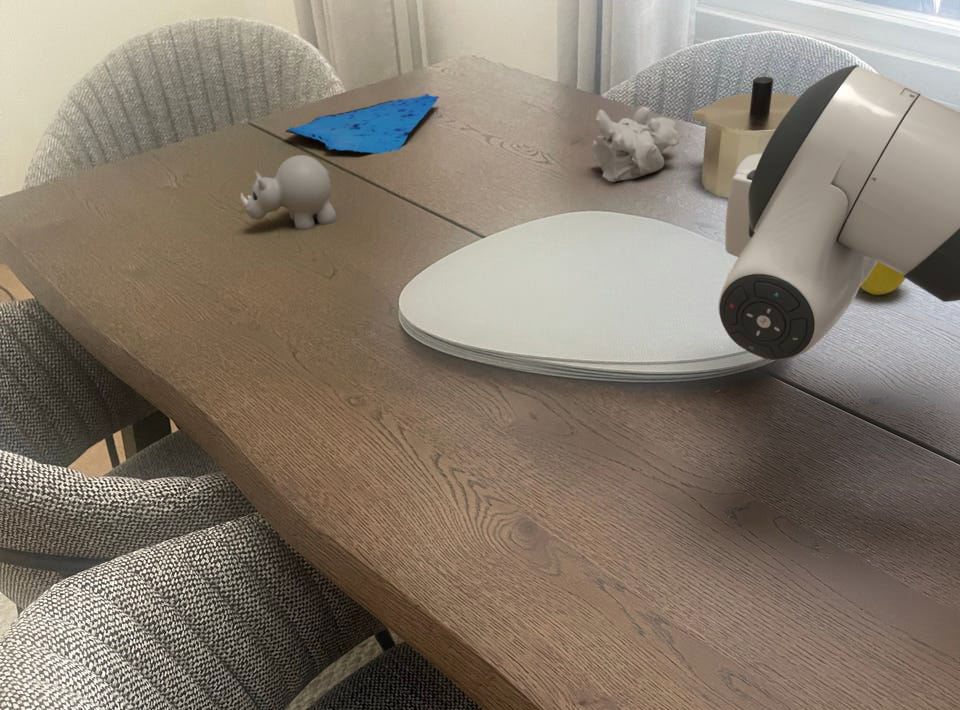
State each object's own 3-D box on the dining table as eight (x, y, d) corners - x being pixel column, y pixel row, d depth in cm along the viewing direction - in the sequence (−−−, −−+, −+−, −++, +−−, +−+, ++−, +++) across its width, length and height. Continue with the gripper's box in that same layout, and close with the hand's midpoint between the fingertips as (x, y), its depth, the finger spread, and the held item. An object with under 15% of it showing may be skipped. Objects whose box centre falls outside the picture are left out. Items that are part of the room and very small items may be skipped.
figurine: (589, 107, 124) (676, 72, 124) (584, 150, 134) (664, 117, 134) (614, 166, 124) (701, 130, 124) (606, 205, 134) (687, 172, 134)
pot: (720, 156, 135) (726, 89, 128) (838, 183, 125) (851, 111, 119) (666, 187, 129) (669, 118, 123) (785, 218, 119) (796, 145, 113)
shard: (302, 111, 163) (299, 98, 161) (442, 100, 161) (440, 87, 159) (275, 167, 146) (272, 153, 144) (431, 155, 144) (429, 141, 142)
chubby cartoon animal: (246, 226, 131) (229, 160, 125) (331, 208, 133) (319, 142, 127) (254, 247, 126) (236, 179, 120) (343, 227, 128) (330, 160, 122)
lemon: (880, 314, 101) (897, 239, 96) (837, 297, 105) (851, 223, 99) (913, 296, 103) (932, 222, 98) (871, 280, 107) (886, 206, 101)
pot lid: (742, 95, 128) (746, 56, 125) (836, 112, 121) (843, 72, 118) (681, 127, 122) (684, 87, 118) (776, 148, 115) (782, 106, 111)
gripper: (983, 208, 70) (1019, 141, 78) (714, 172, 78) (771, 115, 86) (959, 291, 75) (995, 219, 83) (706, 249, 83) (761, 188, 91)
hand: (879, 166), depth 84 cm, fingers open, 8 cm apart
